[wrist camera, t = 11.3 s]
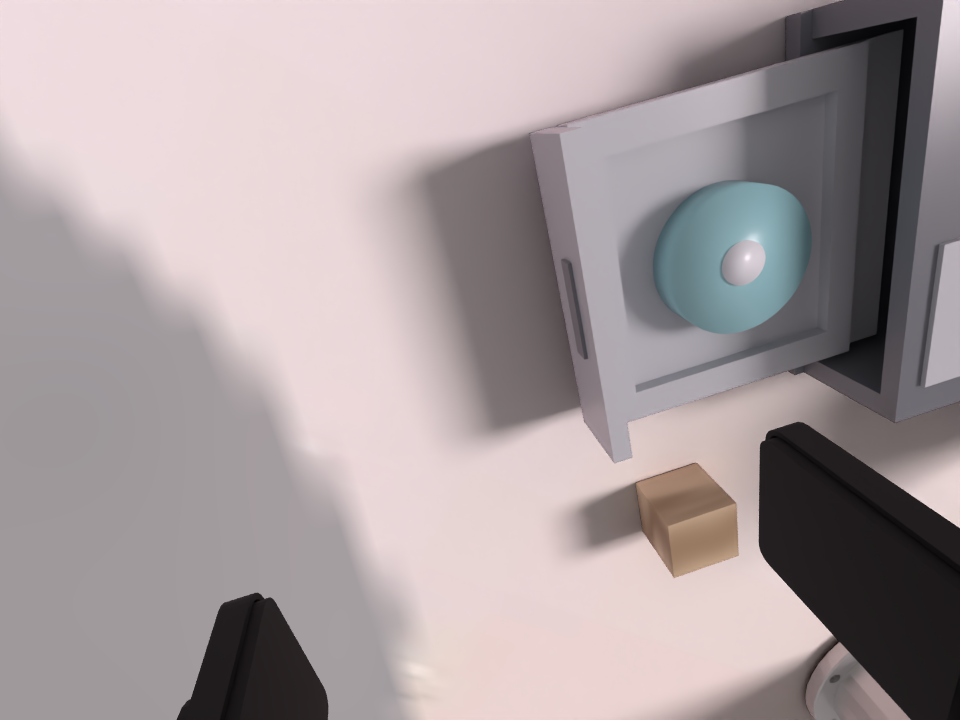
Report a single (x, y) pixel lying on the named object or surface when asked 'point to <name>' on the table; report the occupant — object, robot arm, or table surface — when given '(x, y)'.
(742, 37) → the table surface
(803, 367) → the box
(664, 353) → the tray
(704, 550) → the tan cube
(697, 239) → the dome with round knob
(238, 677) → the robot arm
